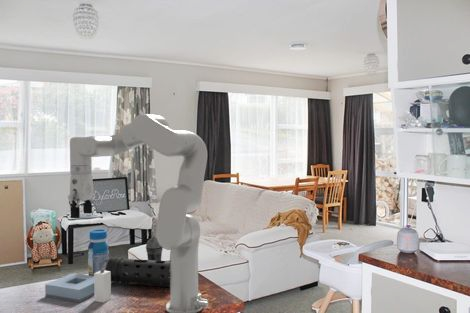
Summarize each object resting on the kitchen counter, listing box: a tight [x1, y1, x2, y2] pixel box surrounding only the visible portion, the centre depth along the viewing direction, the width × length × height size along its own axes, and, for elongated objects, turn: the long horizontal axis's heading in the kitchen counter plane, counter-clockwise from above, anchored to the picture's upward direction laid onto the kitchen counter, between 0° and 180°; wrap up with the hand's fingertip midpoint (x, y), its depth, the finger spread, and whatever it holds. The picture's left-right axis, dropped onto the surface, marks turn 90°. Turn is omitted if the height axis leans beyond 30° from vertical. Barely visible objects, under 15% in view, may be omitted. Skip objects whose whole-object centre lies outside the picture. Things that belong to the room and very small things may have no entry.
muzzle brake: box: [102, 257, 170, 288], centre depth 163 cm, size 10×28×10 cm, turn 78°
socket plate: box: [44, 272, 94, 304], centre depth 155 cm, size 16×14×4 cm
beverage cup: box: [145, 226, 164, 261], centre depth 177 cm, size 7×7×20 cm
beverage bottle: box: [87, 229, 110, 276], centre depth 170 cm, size 8×8×20 cm
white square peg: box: [94, 268, 112, 304], centre depth 147 cm, size 4×4×11 cm
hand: (81, 215), depth 154 cm, fingers open, 9 cm apart
